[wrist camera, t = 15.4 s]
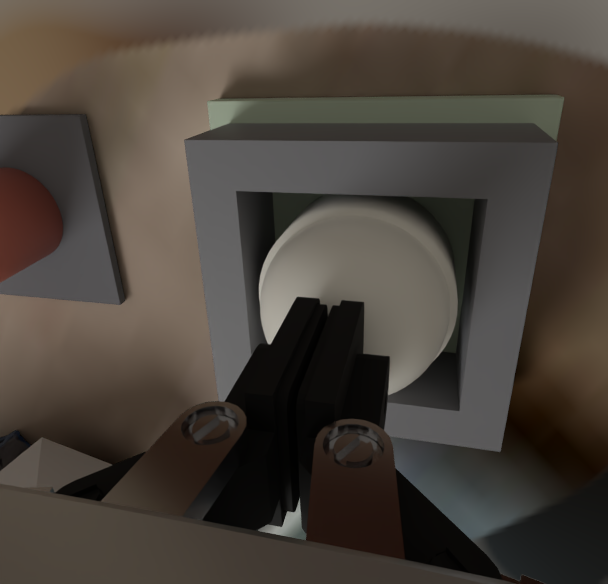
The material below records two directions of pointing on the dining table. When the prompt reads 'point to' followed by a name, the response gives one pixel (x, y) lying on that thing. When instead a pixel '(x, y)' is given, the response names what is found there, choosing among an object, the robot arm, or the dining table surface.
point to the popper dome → (369, 275)
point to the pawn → (26, 222)
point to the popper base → (385, 182)
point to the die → (49, 466)
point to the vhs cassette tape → (11, 448)
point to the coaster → (64, 209)
